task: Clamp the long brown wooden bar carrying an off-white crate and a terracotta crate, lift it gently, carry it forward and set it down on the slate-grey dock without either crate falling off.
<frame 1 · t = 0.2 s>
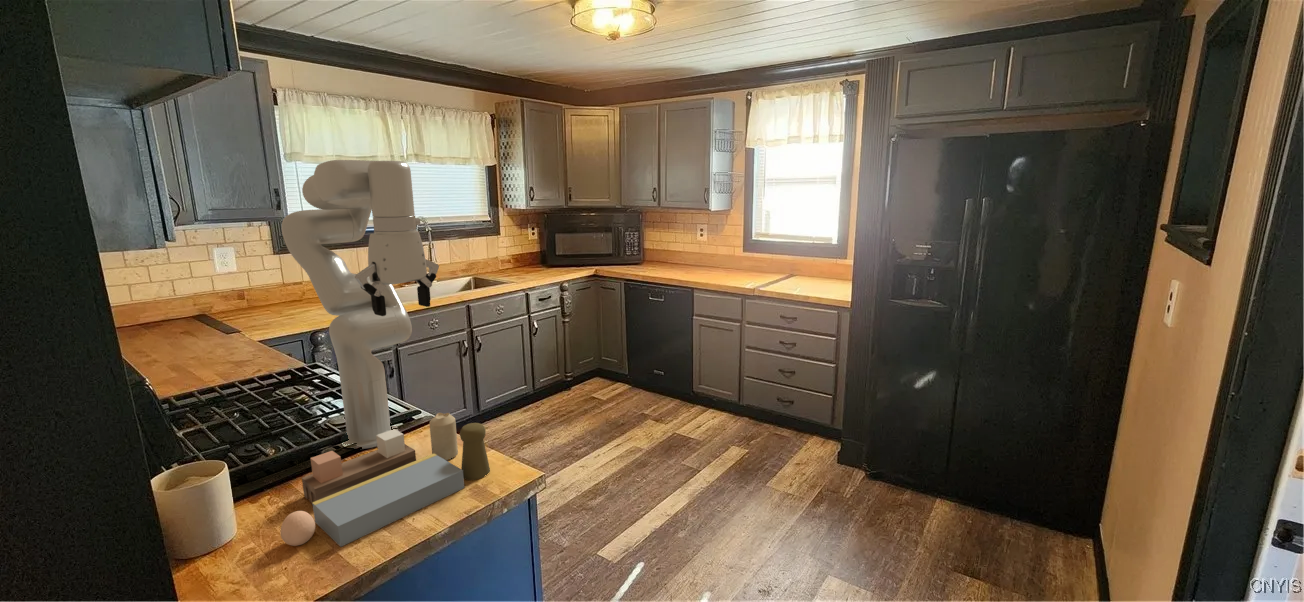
hand: (403, 310, 112), 36 cm above the counter, tool pointing down, fingers open, 9 cm apart
crate white: (391, 451, 119), point 4 cm above the counter, touching brown wooden bar
crate terracotta: (328, 475, 110), point 4 cm above the counter
egg: (300, 543, 96), on the counter
brown wooden bar: (363, 482, 115), on the counter, touching crate white
dock: (393, 504, 107), on the counter
olive pepper mill: (475, 473, 119), on the counter
candle: (445, 456, 127), on the counter
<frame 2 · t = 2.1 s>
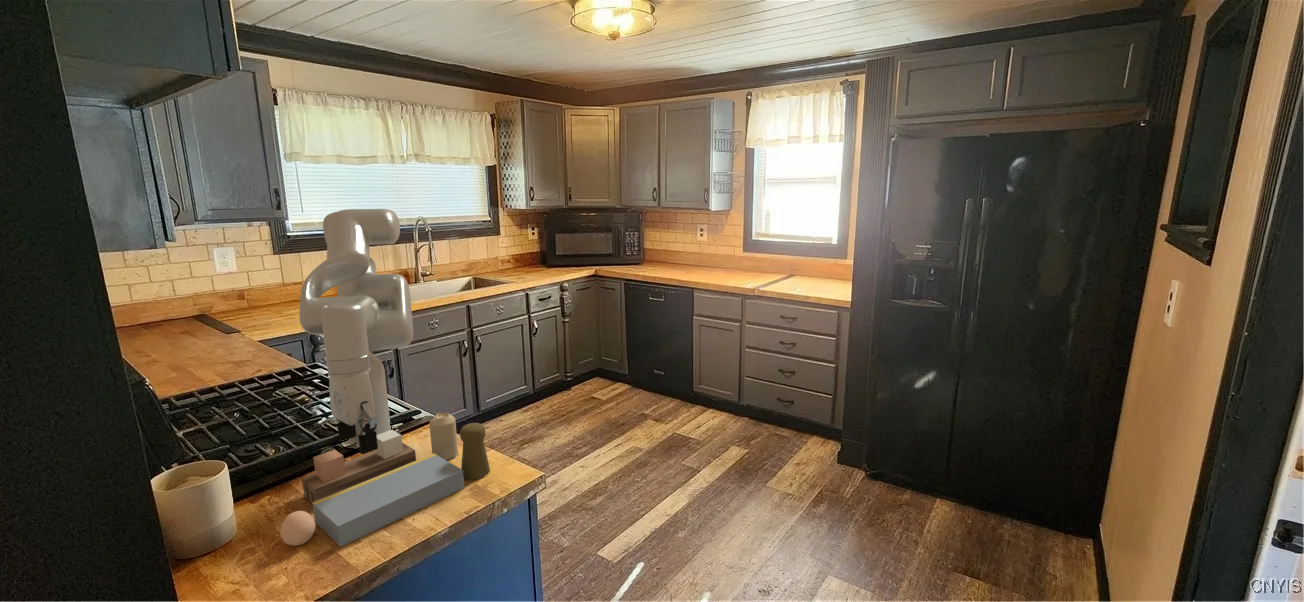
hand: (358, 444, 113), 9 cm above the counter, tool pointing down, fingers open, 9 cm apart
crate terracotta: (330, 474, 110), point 4 cm above the counter, touching brown wooden bar
brown wooden bar: (363, 482, 115), on the counter, touching crate terracotta, crate white
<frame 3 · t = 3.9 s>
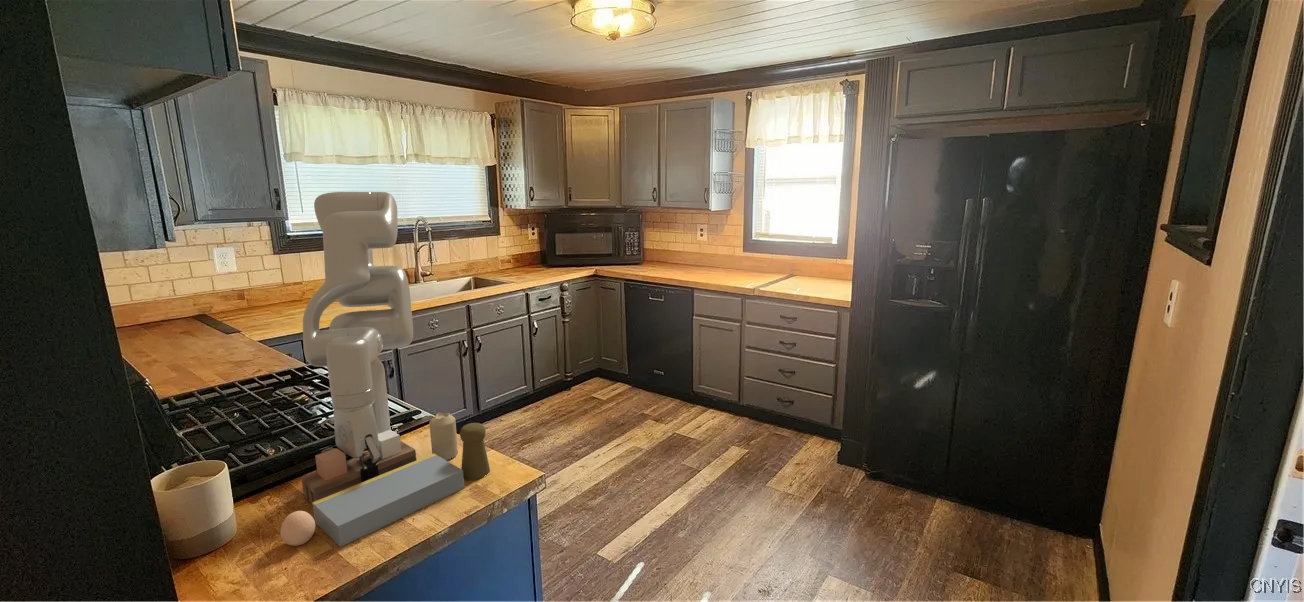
hand: (362, 477, 115), 1 cm above the counter, tool pointing down, fingers closed on brown wooden bar, 6 cm apart
brown wooden bar: (363, 482, 115), on the counter, touching crate terracotta, crate white, gripper
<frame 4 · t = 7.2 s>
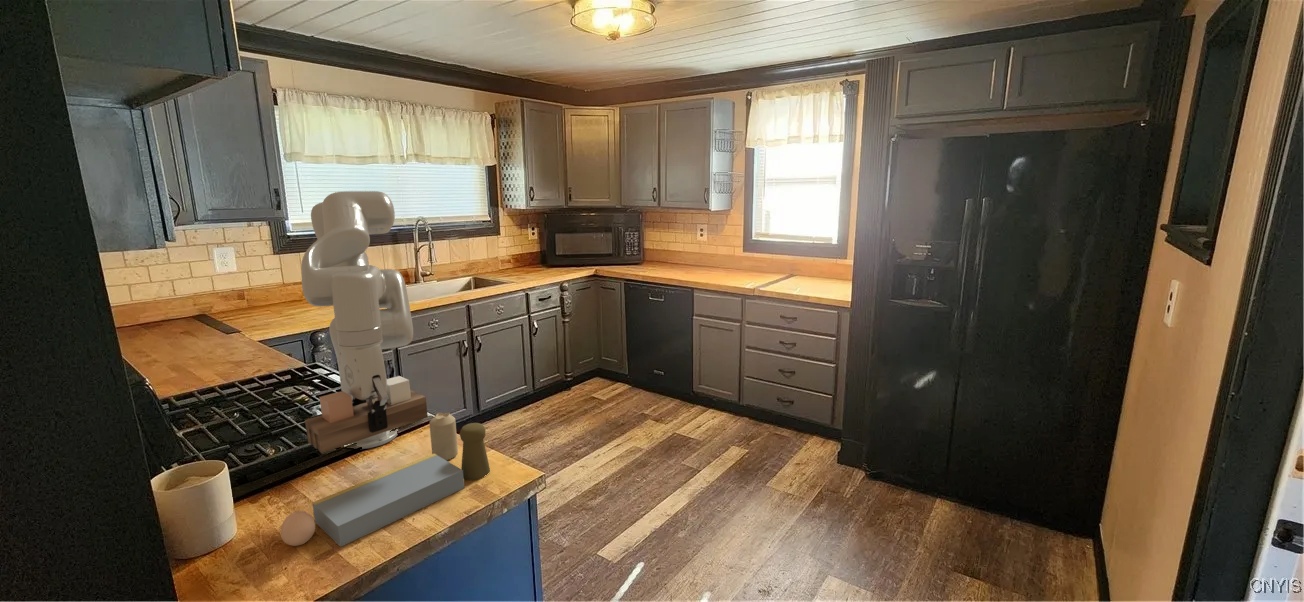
hand: (370, 424, 108), 15 cm above the counter, tool pointing down, fingers closed on brown wooden bar, 6 cm apart
crate white: (396, 399, 111), point 18 cm above the counter, touching brown wooden bar
crate terracotta: (337, 416, 103), point 19 cm above the counter, touching brown wooden bar
brown wooden bar: (370, 429, 108), point 14 cm above the counter, touching crate terracotta, crate white, gripper
everything else where it was.
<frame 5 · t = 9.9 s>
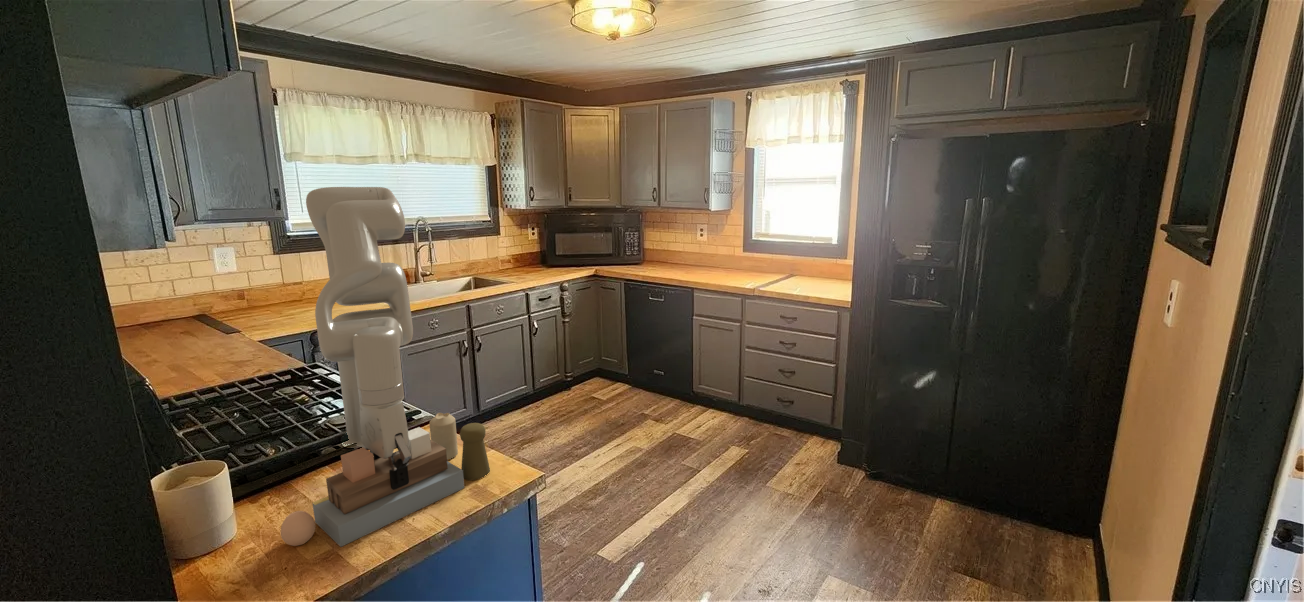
hand: (390, 479, 106), 5 cm above the counter, tool pointing down, fingers closed on brown wooden bar, 6 cm apart
crate white: (416, 451, 110), point 9 cm above the counter, touching brown wooden bar
crate terracotta: (359, 474, 102), point 9 cm above the counter, touching brown wooden bar
brown wooden bar: (391, 483, 107), point 4 cm above the counter, touching crate terracotta, crate white, gripper
everything else where it was.
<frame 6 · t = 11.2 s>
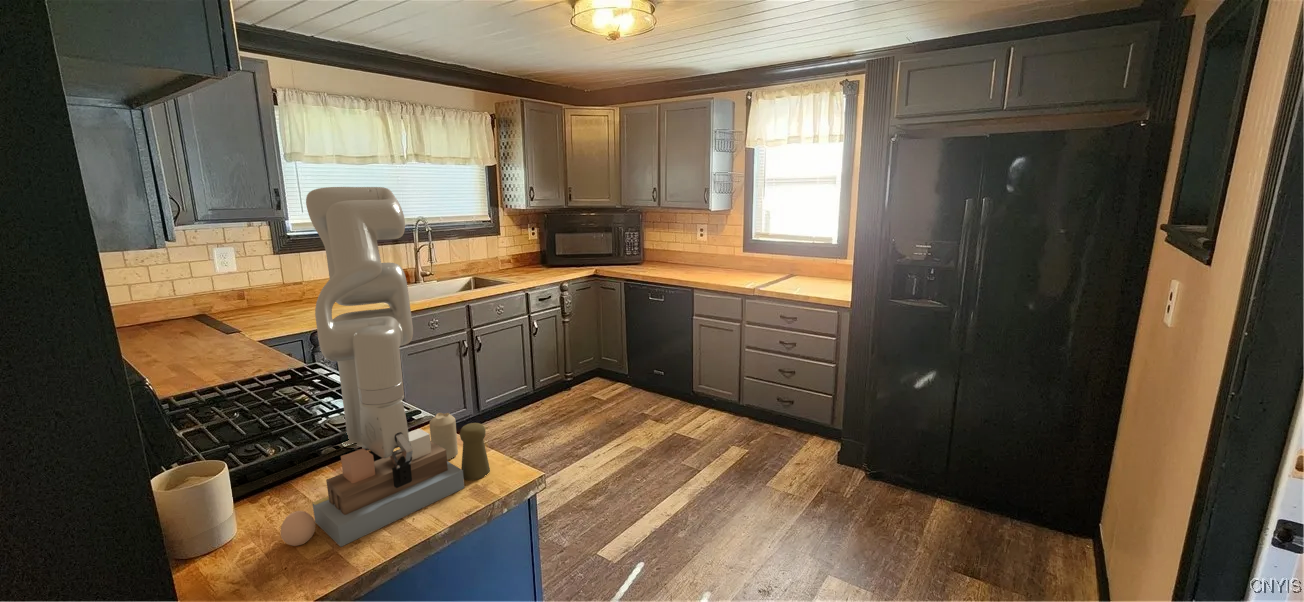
hand: (390, 475, 106), 6 cm above the counter, tool pointing down, fingers open, 9 cm apart
brown wooden bar: (391, 485, 107), point 4 cm above the counter, touching crate terracotta, crate white, dock
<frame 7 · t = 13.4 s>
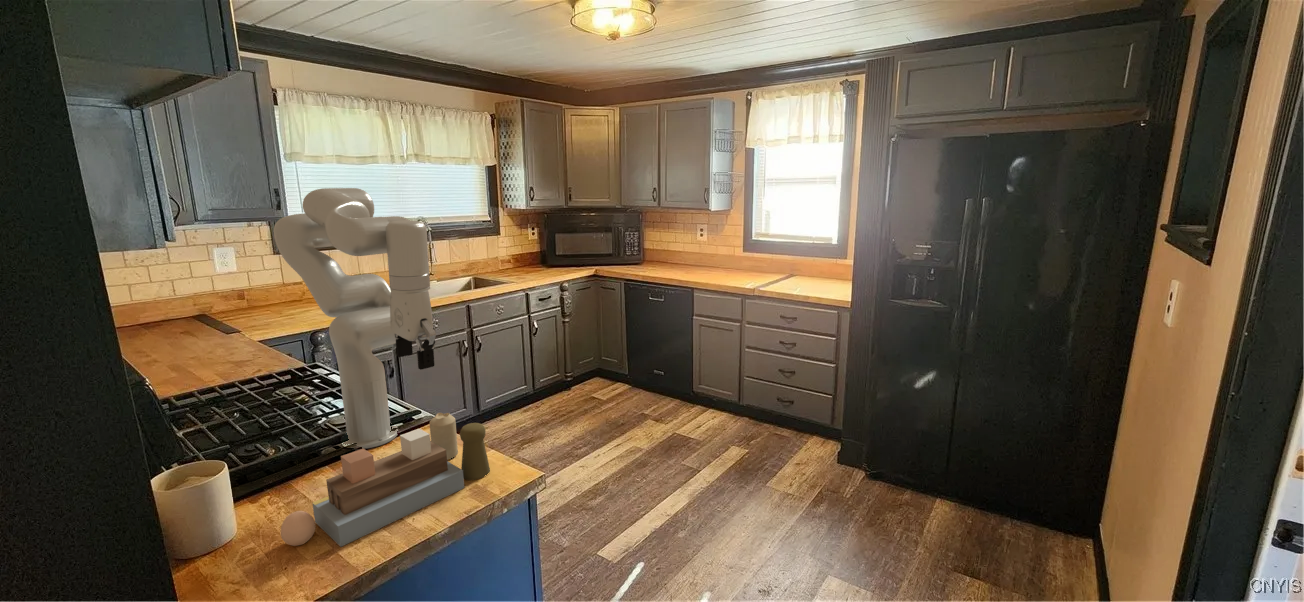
hand: (415, 361, 116), 24 cm above the counter, tool pointing down, fingers open, 9 cm apart
nothing on the counter moved.
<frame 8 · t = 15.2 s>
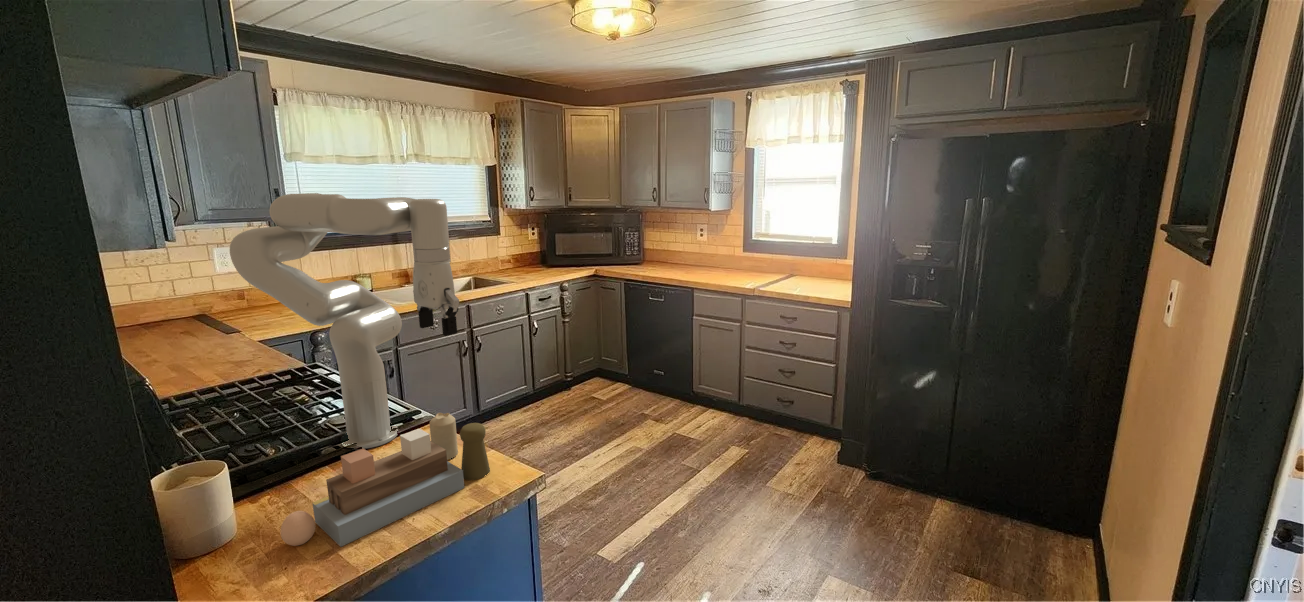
hand: (438, 330, 125), 28 cm above the counter, tool pointing down, fingers open, 9 cm apart
nothing on the counter moved.
at the end: brown wooden bar 0.2 cm off-centre on the dock, point 4.0 cm above the dock's base; crate white touching brown wooden bar; crate terracotta touching brown wooden bar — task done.
